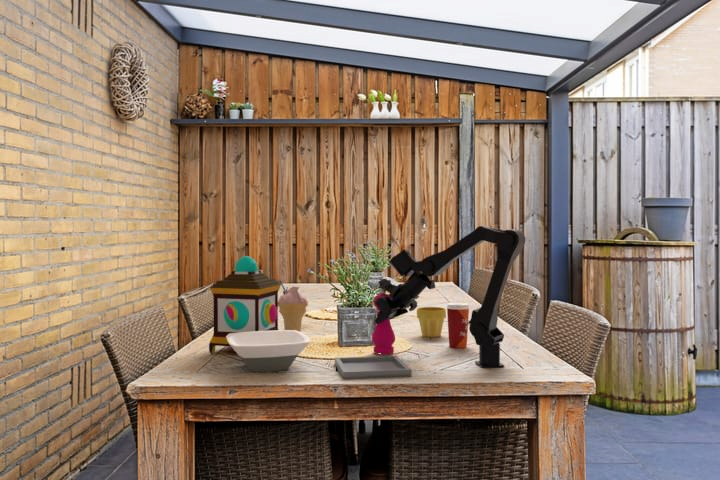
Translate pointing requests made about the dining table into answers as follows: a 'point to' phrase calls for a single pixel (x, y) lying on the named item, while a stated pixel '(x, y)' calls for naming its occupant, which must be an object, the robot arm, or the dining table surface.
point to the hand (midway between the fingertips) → (379, 321)
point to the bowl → (268, 348)
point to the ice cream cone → (292, 308)
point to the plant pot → (431, 320)
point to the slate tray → (372, 367)
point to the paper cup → (458, 324)
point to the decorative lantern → (244, 302)
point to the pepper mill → (383, 331)
